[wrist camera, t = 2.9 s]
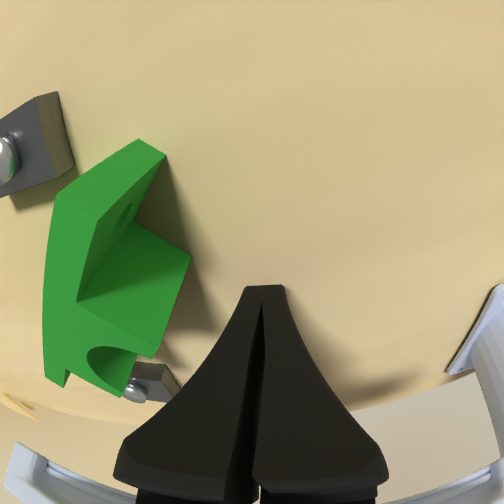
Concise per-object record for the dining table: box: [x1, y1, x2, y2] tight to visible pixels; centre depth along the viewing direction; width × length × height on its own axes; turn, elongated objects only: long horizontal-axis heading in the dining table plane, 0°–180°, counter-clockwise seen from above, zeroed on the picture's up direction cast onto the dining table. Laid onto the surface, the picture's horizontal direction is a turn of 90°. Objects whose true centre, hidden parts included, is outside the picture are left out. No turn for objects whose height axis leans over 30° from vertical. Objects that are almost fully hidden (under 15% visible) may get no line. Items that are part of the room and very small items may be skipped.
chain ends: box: [0, 91, 181, 403], centre depth 12 cm, size 5×18×2 cm, turn 6°
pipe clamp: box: [42, 139, 192, 398], centre depth 10 cm, size 11×4×5 cm, turn 145°
